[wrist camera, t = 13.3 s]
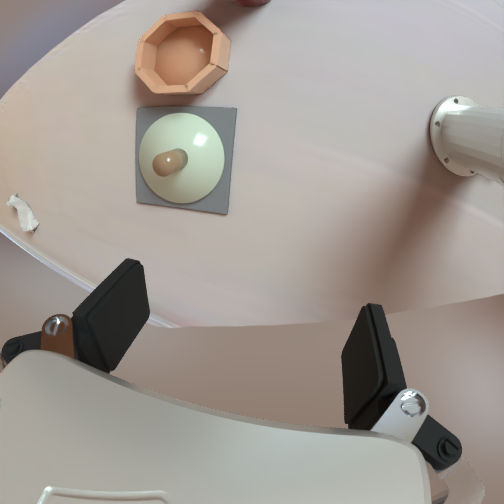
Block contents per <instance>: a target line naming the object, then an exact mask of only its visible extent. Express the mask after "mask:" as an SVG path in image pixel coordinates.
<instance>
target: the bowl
mask: <svg viewBox="0 0 504 504" xmlns="http://www.w3.org/2000/svg"><path fill="white" fill-rule="evenodd" d="M139 40H140V41H138V46H137V53H136V61H135V70H134V71H135V73H136V74H137V75H138V76H139V77H140V79H141V80H142V81H143V82H144V83H145V84H146V85H147V86H148V87H149V89H150V90H151V91H152V92H153V93H157V94H168V95H180V94H202V93H203V92H205V91H206V90H207V89H208V88H209V87H210V86H211V85H213V84H214V83H215V82H216V81H217V80H219V79H220V78H221V77H222V76H223V75H225V74H226V73H227V72H226V71H228V66H229V57H230V49H231V40H230V39H229V38H228V37H227V36H226V35H225V34H224V33H223V32H222V31H221V30H220V29H219V28H218V27H216V26H215V25H214V24H213V23H212V22H211V21H210V20H209V19H207V18H206V17H205V16H204V15H203V14H202V13H200V12H198V11H191V12H183V13H175V14H169V15H165V16H162V17H161V18H160V19H159V20H158V21H157V22H156V23H155V24H154V25H153V26H152V27H151V28H150V29H149V30H148V31H147V32H146V33H145V34H144V35H143V36H142V37H141V38H140V39H139Z"/></svg>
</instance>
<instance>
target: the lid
mask: <svg viewBox="0 0 504 504" xmlns="http://www.w3.org/2000/svg"><path fill="white" fill-rule="evenodd" d="M139 164H140V169H141V173H142V175H143V177H144V179H145V181H146V183H147V184H148V186H149V187H150V188H151V189H152V190H153V191H154V192H155V193H156V194H157V195H159V196H160V197H162V198H163V199H166V200H168V201H171V202H175V203H190V202H194V201H197V200H199V199H201V198H203V197H205V196H206V195H207V194H209V193H210V192H211V191H212V190H213V189H214V188H215V186H216V185H217V184H218V182H219V180H220V178H221V176H222V174H223V170H224V165H225V151H224V146H223V143H222V140H221V138H220V136H219V134H218V132H217V131H216V130H215V128H214V127H213V126H212V125H211V124H210V123H209V122H207V121H206V120H205V119H203V118H201V117H199V116H197V115H194V114H190V113H173V114H169V115H166V116H164V117H162V118H160V119H158V120H157V121H156V122H154V123H153V124H152V125H151V126H150V127H149V129H148V130H147V131H146V133H145V135H144V137H143V139H142V141H141V145H140V149H139Z"/></svg>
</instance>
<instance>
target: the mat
mask: <svg viewBox="0 0 504 504" xmlns="http://www.w3.org/2000/svg"><path fill="white" fill-rule="evenodd" d="M173 113H190V114H194V115H197V116H199V117H201V118H203V119H205V120H206V121H207V122H209V123H210V124H211V125H212V126H213V127H214V128H215V130H216V131H217V132H218V134H219V136H220V138H221V140H222V143H223V146H224V151H225V165H224V170H223V174H222V176H221V178H220V180H219V182H218V184H217V185H216V186H215V188H214V189H213V190H212V191H211V192H210V193H209V194H207V195H206V196H205V197H203V198H201V199H199V200H197V201H194V202H190V203H175V202H171V201H168V200H166V199H163V198H162V197H160V196H159V195H157V194H156V193H155V192H154V191H153V190H152V189H151V188H150V187H149V186H148V184H147V183H146V181H145V179H144V177H143V175H142V173H141V169H140V164H139V149H140V145H141V141H142V139H143V137H144V135H145V133H146V131H147V130H148V129H149V127H150V126H151V125H152V124H153V123H154V122H156V121H157V120H158V119H160V118H162V117H164V116H166V115H169V114H173ZM236 115H237V108H224V107H196V106H171V107H144V108H137V120H136V191H137V202H140V203H148V204H156V205H164V206H171V207H179V208H186V209H193V210H200V211H207V212H214V213H221V214H228V206H229V193H230V181H231V169H232V157H233V146H234V135H235V125H236Z"/></svg>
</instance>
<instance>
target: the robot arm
mask: <svg viewBox="0 0 504 504" xmlns="http://www.w3.org/2000/svg"><path fill="white" fill-rule="evenodd" d="M435 123H436V125H435ZM430 135H431V142H432V146H433V149H434V151H435V154H436V156H437V157H438V159H439V161H440V162H441V163H442V164H443V165H444V167H446V168H447V169H448V170H449V171H451V172H453V173H455V174H457V175H460V176H465V177H467V176H473V175H475V174H477V173H478V174H480V175H482V176H484V177H486V178H488V179H490V180H492V181H494V182H496V183H498V184H500V185H502V186H504V108H493V107H480V106H479V105H478V104H477V103H476V102H474V101H473V100H471V99H469V98H467V97H464V96H451V97H447V98H445V99H444V100H442V101H441V102H440V103H439V104H438V105H437V107H436V108H435V110H434V112H433V115H432V118H431V123H430ZM444 159H445V161H444ZM149 315H150V309H149V303H148V297H147V290H146V283H145V275H144V268H143V265H141V263H140V261H138V260H133V259H129V258H127V259H125V260H124V261H123V262H122V263H121V264H120V265H119V266H118V267H117V268H116V269H115V270H114V271H113V272H112V273H111V274H110V275H109V276H108V277H107V278H106V279H105V280H104V281H103V282H102V283H101V284H100V285H99V286H98V287H97V288H96V289H95V290H94V291H93V292H92V293H91V294H90V295H89V296H88V297H87V298H86V299H85V300H84V301H83V302H82V303H81V304H80V305H79V306H78V307H77V309H76V310H75V311H74V312H73V317H72V318H70V317H69V316H67V315H64V314H56V315H53V316H51V317H49V318H48V319H47V320H46V321H45V322H44V324H43V326H42V331H39V332H35V333H31V334H27V335H23V336H19V337H15V338H12V339H10V340H8V341H7V342H6V343H5V344H4V346H3V348H2V352H1V353H0V504H480V503H481V501H482V500H483V498H484V494H485V488H484V486H483V484H482V482H481V480H480V479H479V477H478V476H477V474H476V473H475V471H474V470H473V468H472V467H471V466H470V464H469V462H468V461H467V459H466V458H463V459H462V458H461V454H462V446H461V443H460V441H459V439H458V438H457V437H456V436H455V435H453V434H452V433H451V432H450V431H448V430H447V429H446V428H444V427H443V426H442V425H441V424H439V423H438V422H437V421H435V420H434V419H433V418H432V417H431V416H429V415H428V412H429V403H428V400H427V398H426V397H425V395H423V394H422V393H421V392H420V391H418V390H416V389H407V387H406V382H405V378H404V374H403V370H402V366H401V362H400V358H399V354H398V350H397V347H396V343H395V341H394V339H393V338H391V335H390V331H389V328H388V324H387V321H386V317H385V314H384V311H383V308H382V305H378V304H371V303H368V304H367V305H366V306H363V307H362V308H361V311H360V313H359V315H358V318H357V320H356V323H355V325H354V327H353V329H352V331H351V333H350V336H349V338H348V340H347V342H346V344H345V346H344V349H343V351H342V356H341V359H342V374H343V393H344V420H345V424H348V429H341V428H327V427H317V426H308V425H299V424H291V423H284V422H277V421H270V420H264V419H258V418H253V417H248V416H243V415H238V414H233V413H228V412H224V411H220V410H216V409H212V408H208V407H204V406H200V405H196V404H193V403H189V402H186V401H182V400H179V399H176V398H173V397H170V396H166V395H163V394H160V393H157V392H155V391H152V390H149V389H146V388H143V387H140V386H137V385H135V384H132V383H130V382H127V381H125V380H122V379H120V378H117V377H115V376H112V375H110V374H109V373H110V371H113V370H115V368H116V367H117V365H118V364H119V362H120V361H121V359H122V357H123V356H124V354H125V353H126V351H127V350H128V348H129V347H130V345H131V344H132V342H133V341H134V339H135V338H136V336H137V335H138V333H139V332H140V330H141V329H142V327H143V326H144V324H145V323H146V321H147V320H148V318H149Z"/></svg>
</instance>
